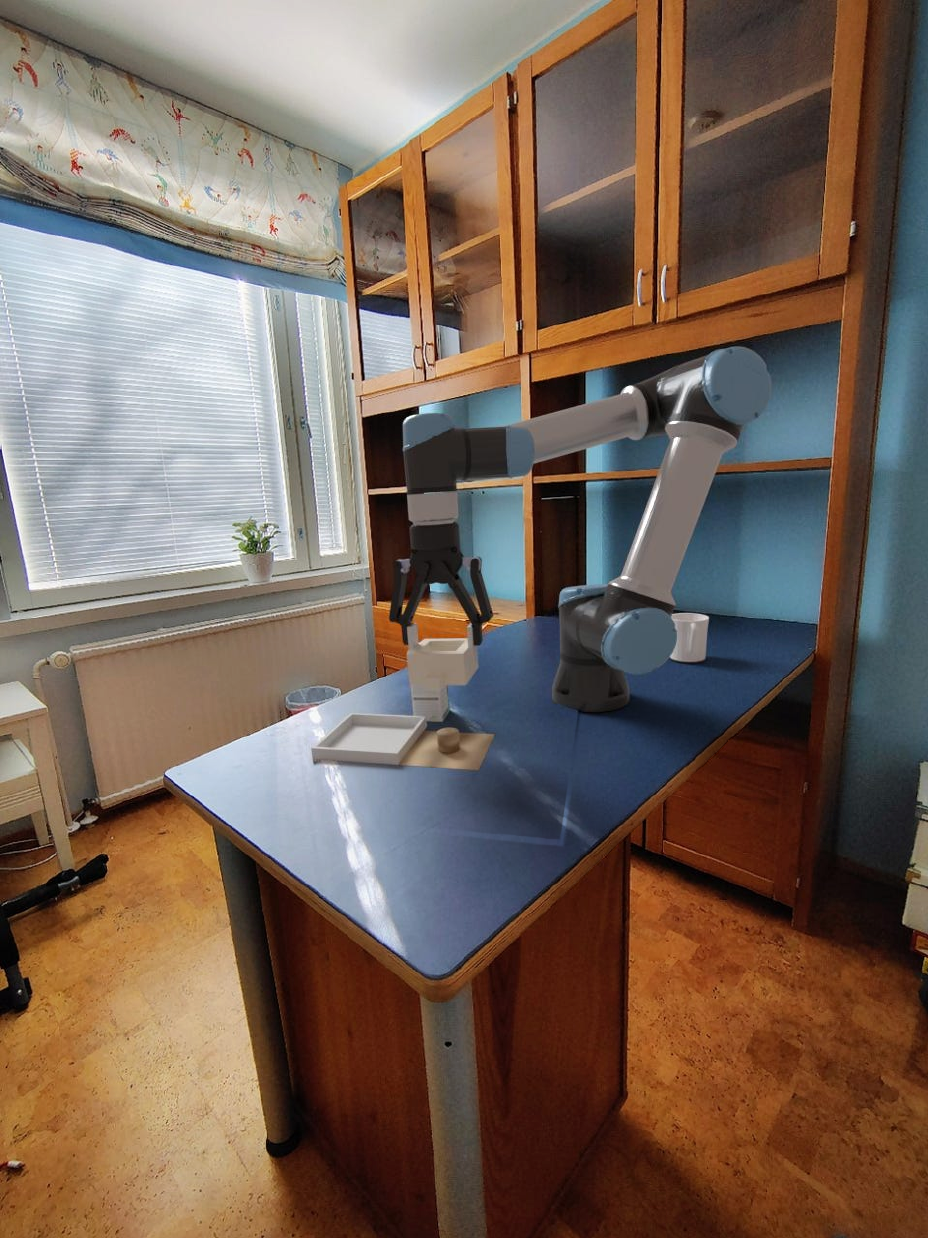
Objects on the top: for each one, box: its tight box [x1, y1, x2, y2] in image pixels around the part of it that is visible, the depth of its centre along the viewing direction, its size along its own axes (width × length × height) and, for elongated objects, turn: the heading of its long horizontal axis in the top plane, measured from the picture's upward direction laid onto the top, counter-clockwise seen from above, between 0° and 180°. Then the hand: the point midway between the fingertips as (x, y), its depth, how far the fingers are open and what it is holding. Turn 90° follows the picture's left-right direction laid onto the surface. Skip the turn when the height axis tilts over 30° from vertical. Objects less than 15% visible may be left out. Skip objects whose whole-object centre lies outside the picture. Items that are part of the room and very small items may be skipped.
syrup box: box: [406, 641, 450, 723], centre depth 108 cm, size 6×6×14 cm
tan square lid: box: [398, 727, 496, 771], centre depth 95 cm, size 13×13×4 cm
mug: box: [668, 612, 710, 665], centre depth 134 cm, size 11×9×10 cm
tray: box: [311, 712, 428, 766], centre depth 99 cm, size 15×15×2 cm
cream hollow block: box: [406, 637, 479, 691], centre depth 90 cm, size 9×12×5 cm
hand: (443, 664), depth 92 cm, fingers closed on cream hollow block, 9 cm apart
